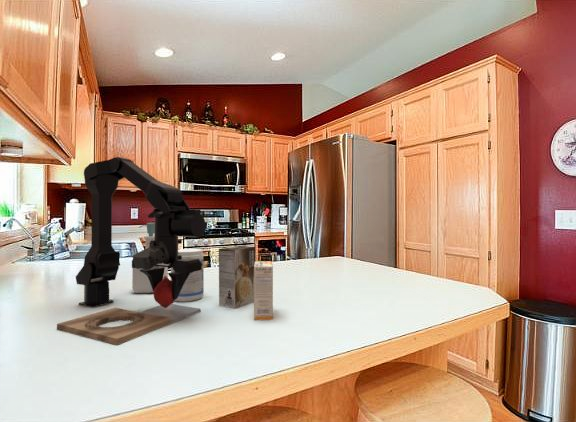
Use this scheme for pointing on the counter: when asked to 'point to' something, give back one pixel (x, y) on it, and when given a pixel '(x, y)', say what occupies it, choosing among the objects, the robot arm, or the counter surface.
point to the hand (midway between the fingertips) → (165, 297)
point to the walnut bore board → (117, 334)
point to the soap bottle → (139, 278)
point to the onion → (164, 293)
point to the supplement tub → (192, 277)
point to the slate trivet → (173, 311)
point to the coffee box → (236, 276)
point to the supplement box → (263, 290)
